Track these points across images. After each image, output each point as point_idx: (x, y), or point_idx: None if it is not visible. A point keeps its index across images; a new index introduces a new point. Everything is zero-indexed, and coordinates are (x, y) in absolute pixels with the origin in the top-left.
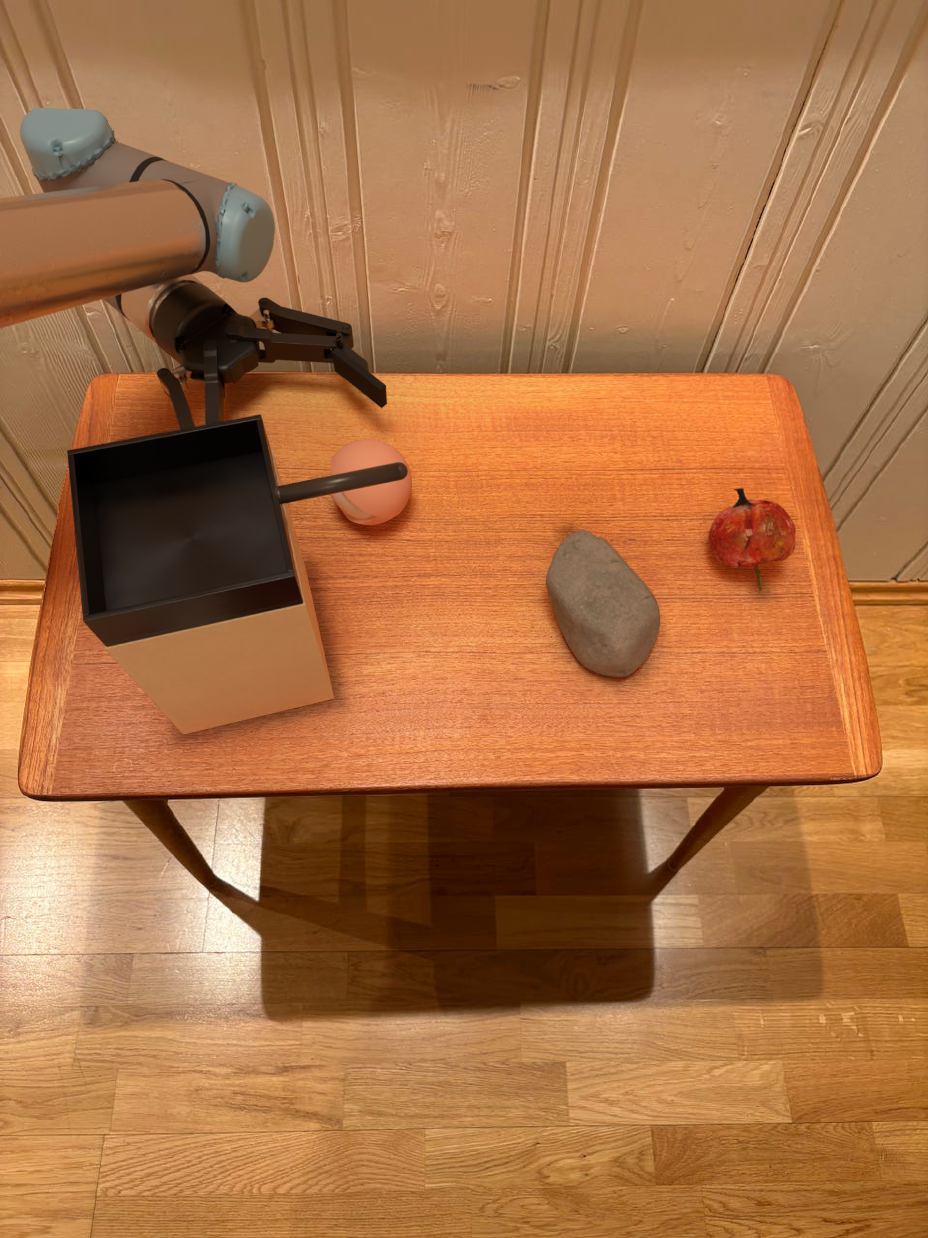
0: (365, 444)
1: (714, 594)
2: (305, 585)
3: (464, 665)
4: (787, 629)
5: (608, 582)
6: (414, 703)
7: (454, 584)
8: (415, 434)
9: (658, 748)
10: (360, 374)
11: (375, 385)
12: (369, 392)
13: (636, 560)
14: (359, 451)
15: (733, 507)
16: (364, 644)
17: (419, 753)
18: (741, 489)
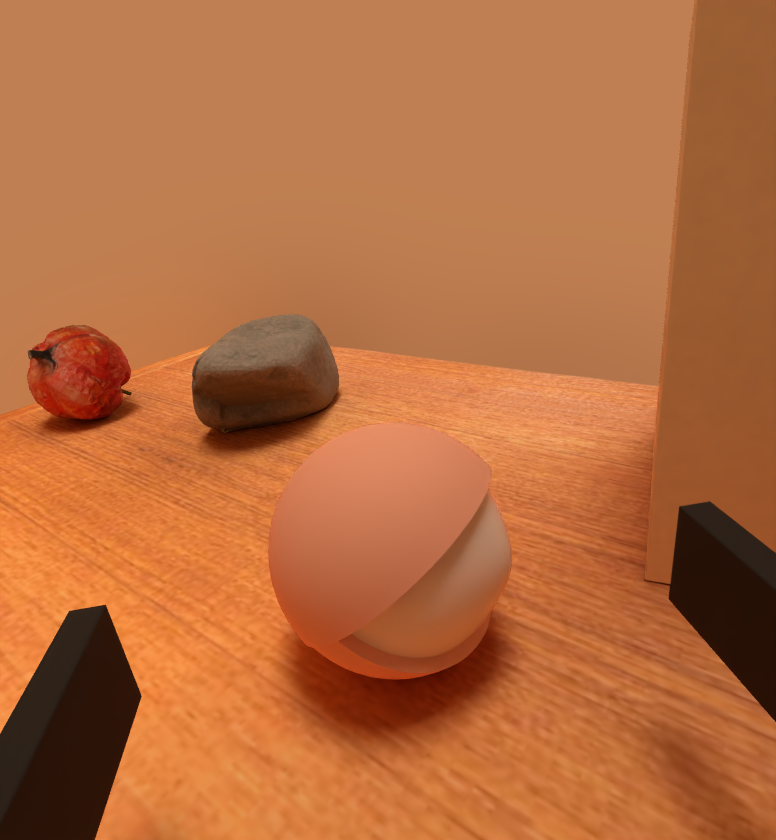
0: (348, 469)
1: (162, 402)
2: (672, 243)
3: (453, 419)
4: (161, 378)
5: (254, 332)
6: (541, 411)
7: None
8: None
9: (347, 357)
10: (56, 712)
11: (92, 629)
12: (107, 723)
13: (169, 435)
14: (382, 452)
15: (55, 366)
16: (576, 463)
17: (563, 387)
18: (31, 350)
